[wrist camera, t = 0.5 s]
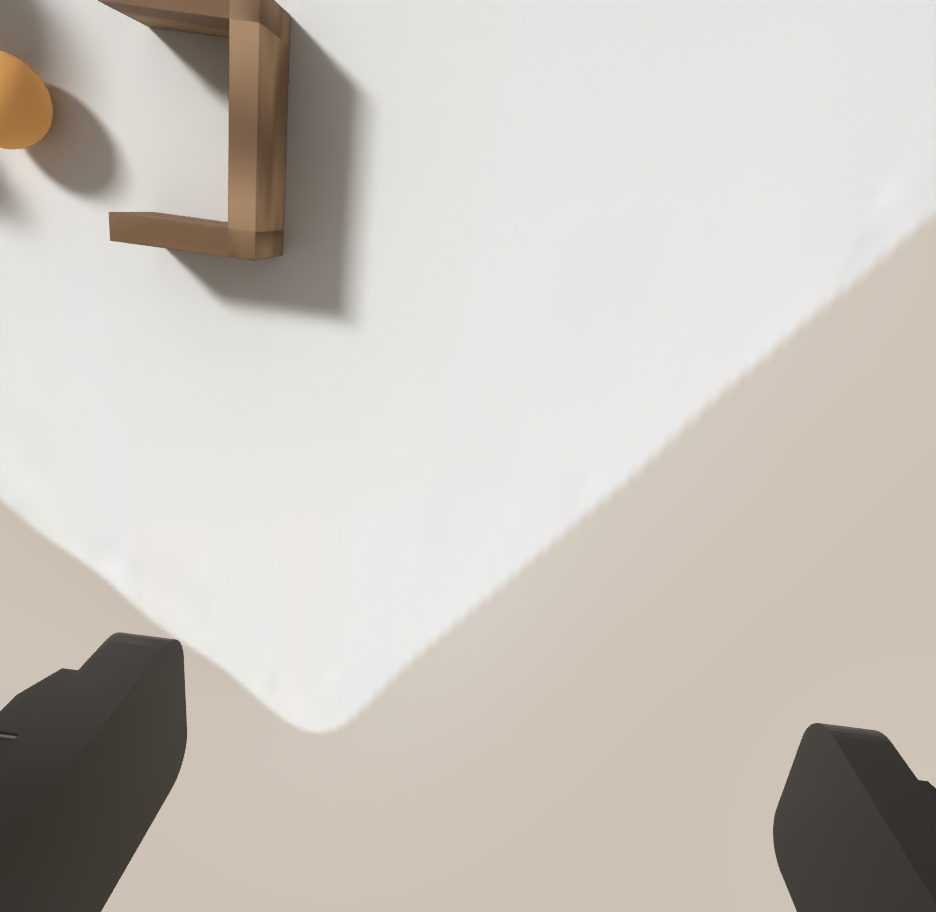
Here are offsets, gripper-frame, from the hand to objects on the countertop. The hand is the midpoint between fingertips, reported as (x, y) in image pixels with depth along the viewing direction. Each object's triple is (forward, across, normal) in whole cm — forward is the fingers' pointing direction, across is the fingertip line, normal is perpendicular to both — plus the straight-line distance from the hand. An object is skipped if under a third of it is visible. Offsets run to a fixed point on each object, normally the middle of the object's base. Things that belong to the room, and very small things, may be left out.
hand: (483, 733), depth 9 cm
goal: (+28, +14, -8) cm, 32 cm away
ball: (+26, +24, -8) cm, 36 cm away
